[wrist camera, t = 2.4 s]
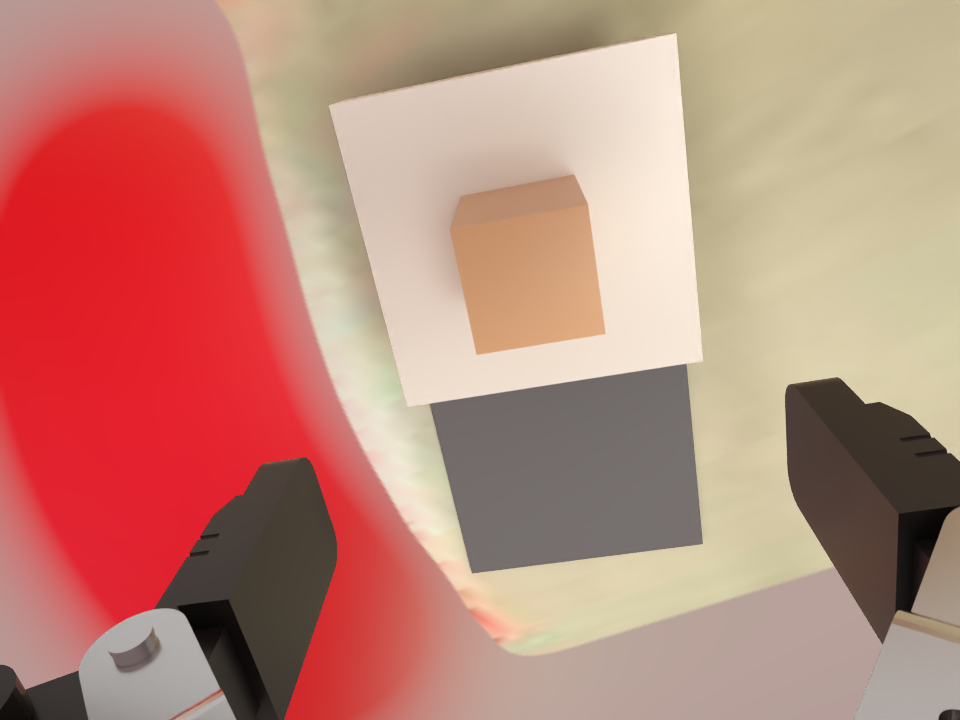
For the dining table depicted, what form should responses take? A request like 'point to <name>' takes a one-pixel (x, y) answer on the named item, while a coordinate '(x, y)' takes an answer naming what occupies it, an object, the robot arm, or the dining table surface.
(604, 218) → the lid
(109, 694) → the robot arm
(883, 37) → the dining table surface
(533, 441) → the mat
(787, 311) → the dining table surface
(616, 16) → the dining table surface
